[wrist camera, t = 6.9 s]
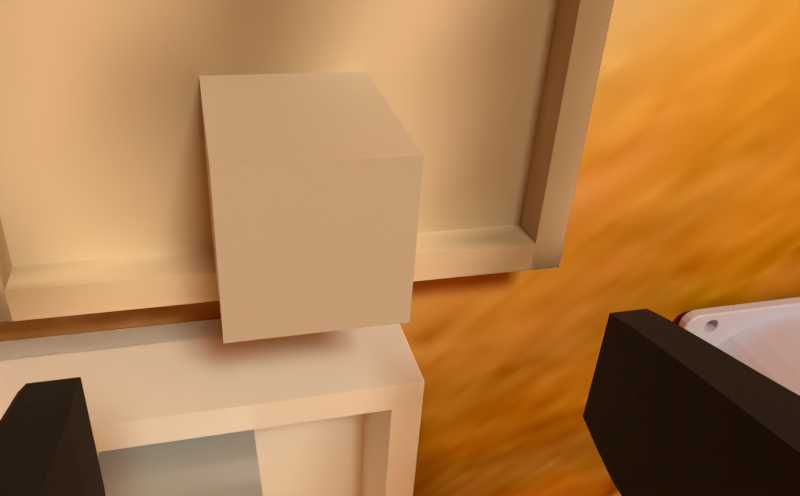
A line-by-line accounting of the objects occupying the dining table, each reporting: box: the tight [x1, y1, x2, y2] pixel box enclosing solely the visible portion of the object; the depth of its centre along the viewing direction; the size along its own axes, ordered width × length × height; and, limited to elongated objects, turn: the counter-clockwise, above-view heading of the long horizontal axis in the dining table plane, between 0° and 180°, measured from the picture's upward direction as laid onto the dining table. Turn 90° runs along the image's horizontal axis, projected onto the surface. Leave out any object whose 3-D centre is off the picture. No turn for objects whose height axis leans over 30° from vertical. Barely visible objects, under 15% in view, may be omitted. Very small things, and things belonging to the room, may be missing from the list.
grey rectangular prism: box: [99, 430, 263, 496], centre depth 19 cm, size 4×4×4 cm
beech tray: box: [0, 0, 614, 323], centre depth 15 cm, size 14×13×2 cm
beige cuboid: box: [199, 72, 424, 343], centre depth 15 cm, size 4×4×4 cm
